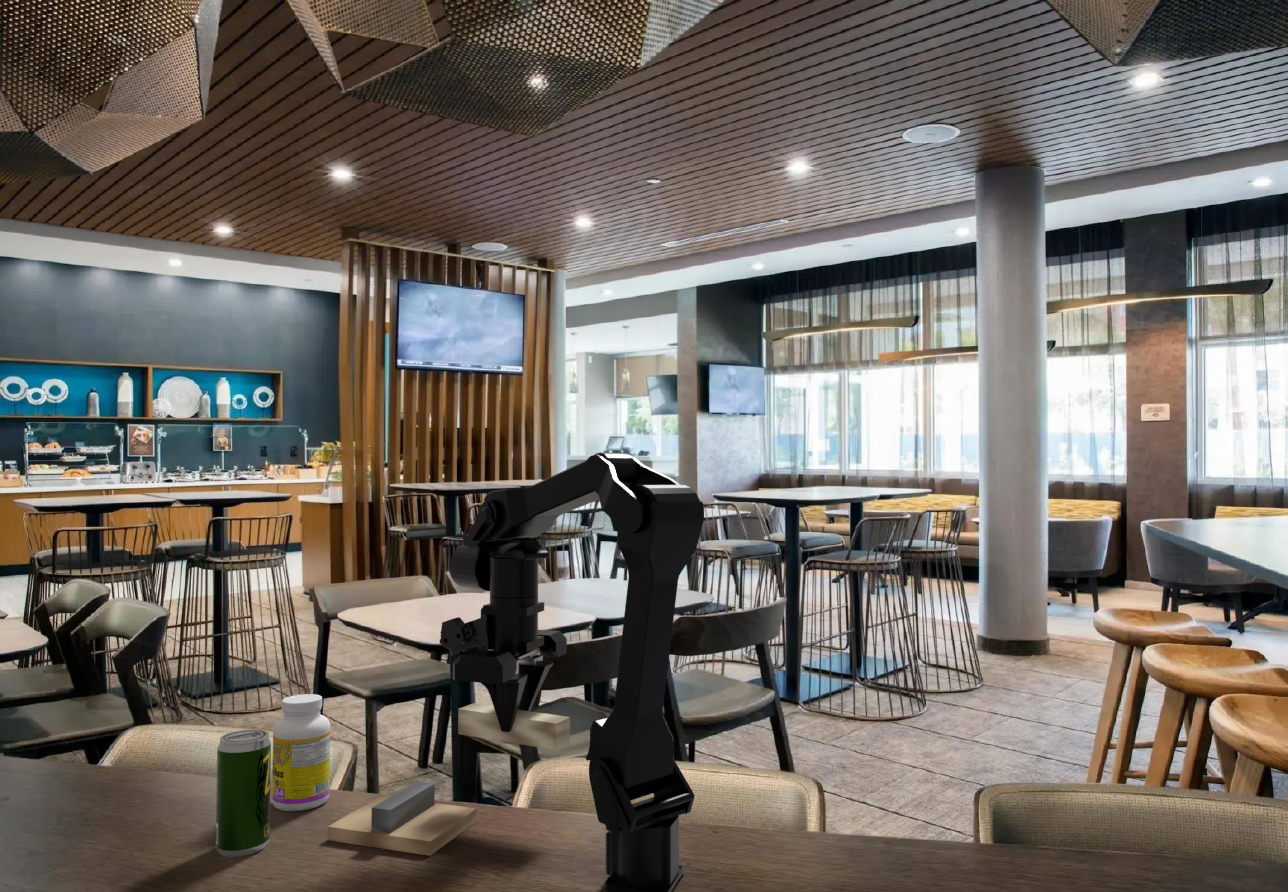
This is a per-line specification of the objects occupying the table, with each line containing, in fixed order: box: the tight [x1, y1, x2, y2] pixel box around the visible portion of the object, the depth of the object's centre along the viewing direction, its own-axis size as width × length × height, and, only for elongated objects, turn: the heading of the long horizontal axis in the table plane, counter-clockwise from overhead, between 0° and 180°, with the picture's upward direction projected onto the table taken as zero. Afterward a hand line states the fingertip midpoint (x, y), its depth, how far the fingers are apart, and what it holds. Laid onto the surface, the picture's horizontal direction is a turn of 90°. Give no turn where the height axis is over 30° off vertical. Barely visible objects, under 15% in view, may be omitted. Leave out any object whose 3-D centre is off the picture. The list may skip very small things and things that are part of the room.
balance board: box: [327, 780, 478, 856], centre depth 102 cm, size 13×10×4 cm
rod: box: [457, 702, 571, 751], centre depth 107 cm, size 14×3×3 cm, turn 63°
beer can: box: [215, 729, 272, 858], centre depth 98 cm, size 5×5×12 cm
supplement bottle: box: [271, 693, 331, 812], centre depth 111 cm, size 7×7×13 cm
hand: (513, 727), depth 107 cm, fingers closed on rod, 3 cm apart
